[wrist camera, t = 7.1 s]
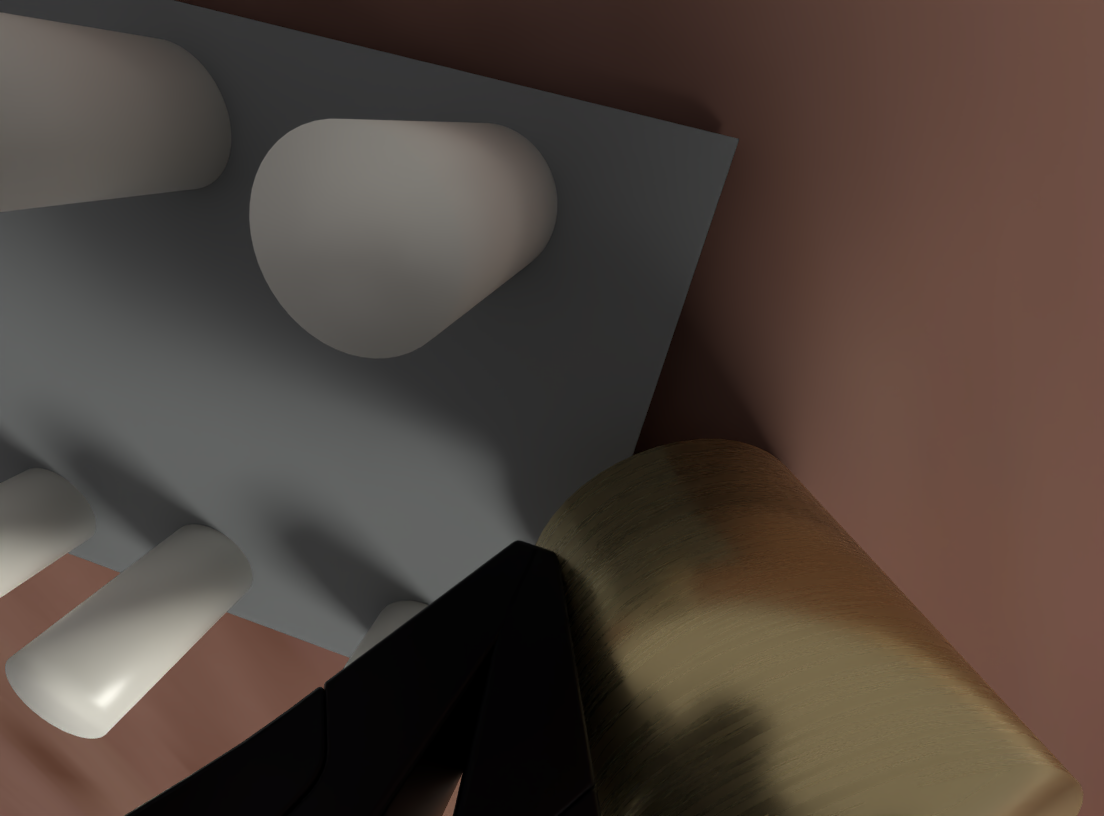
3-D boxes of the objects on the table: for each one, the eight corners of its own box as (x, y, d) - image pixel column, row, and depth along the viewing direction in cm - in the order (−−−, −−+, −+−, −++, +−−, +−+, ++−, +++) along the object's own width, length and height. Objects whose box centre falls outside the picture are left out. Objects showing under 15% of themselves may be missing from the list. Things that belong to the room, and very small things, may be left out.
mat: (544, 711, 13) (540, 728, 13) (16, 518, 14) (-1, 527, 14) (737, 138, 7) (738, 138, 7) (-161, -82, 9) (-198, -91, 8)
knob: (741, 645, 11) (925, 964, 7) (504, 661, 10) (573, 1064, 6) (850, 445, 9) (1198, 753, 5) (562, 430, 7) (735, 835, 4)
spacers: (458, 683, 13) (379, 860, 10) (-6, 511, 14) (-206, 619, 11) (572, 143, 7) (480, 153, 4) (-184, -49, 9) (-665, -147, 6)
